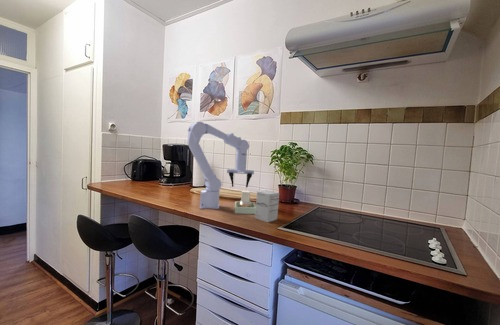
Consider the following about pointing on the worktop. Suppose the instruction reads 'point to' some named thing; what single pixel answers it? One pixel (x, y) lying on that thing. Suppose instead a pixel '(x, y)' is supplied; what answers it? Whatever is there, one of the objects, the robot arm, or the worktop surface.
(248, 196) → the cream carton
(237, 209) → the sage tote
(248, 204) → the steel tin
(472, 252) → the worktop surface
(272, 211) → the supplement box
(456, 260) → the worktop surface
